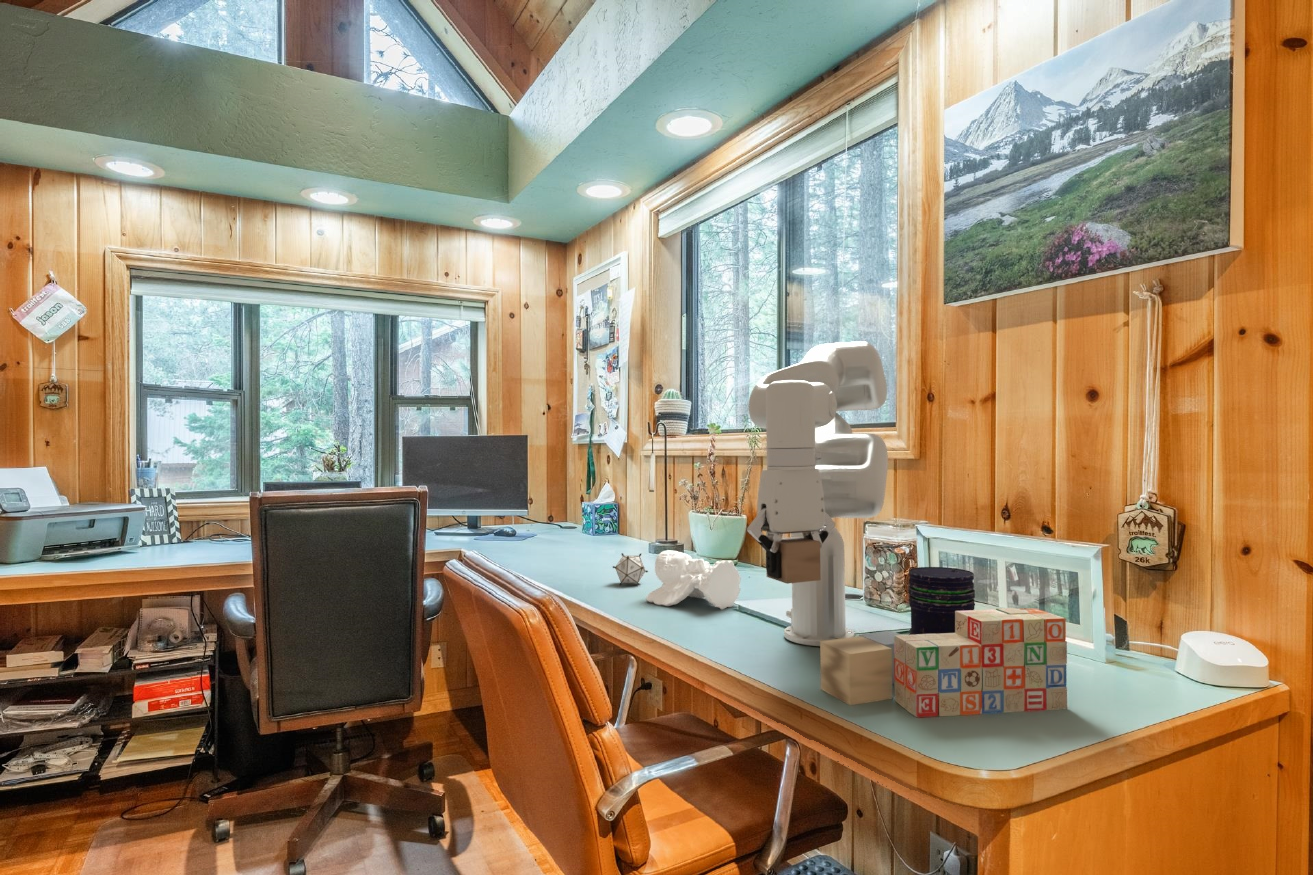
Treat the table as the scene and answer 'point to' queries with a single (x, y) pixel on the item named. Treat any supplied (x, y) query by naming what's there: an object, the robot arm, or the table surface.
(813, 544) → the walnut cube
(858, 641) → the oak block
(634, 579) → the game die
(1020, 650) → the stack of blocks
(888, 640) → the slate cube
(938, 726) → the table surface
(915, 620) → the storage jar
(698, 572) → the cherub figurine
